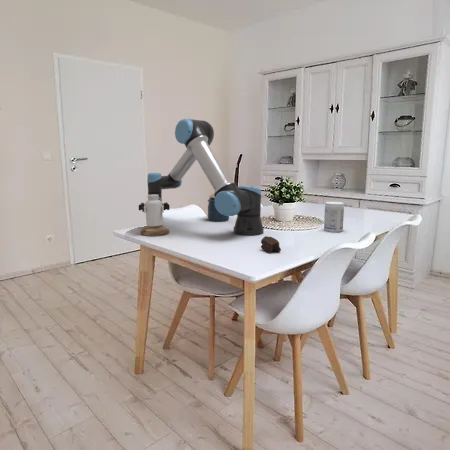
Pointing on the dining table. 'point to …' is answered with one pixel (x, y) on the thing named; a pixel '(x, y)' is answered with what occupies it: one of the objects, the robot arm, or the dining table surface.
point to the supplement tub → (334, 216)
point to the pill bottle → (154, 211)
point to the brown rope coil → (154, 231)
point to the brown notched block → (270, 244)
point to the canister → (215, 211)
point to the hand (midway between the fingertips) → (153, 209)
